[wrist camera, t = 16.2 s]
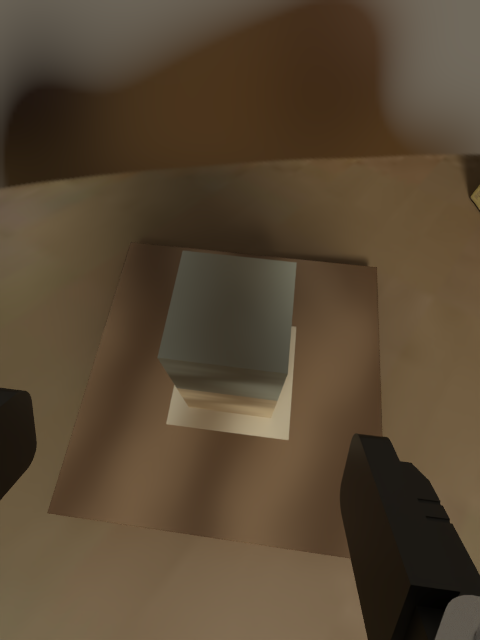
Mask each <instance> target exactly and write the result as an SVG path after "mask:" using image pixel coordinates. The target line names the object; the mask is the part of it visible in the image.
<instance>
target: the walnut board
mask: <svg viewBox="0 0 480 640" xmlns="http://www.w3.org/2000/svg"><path fill="white" fill-rule="evenodd" d="M183 251H192V252H201V253H211V254H220V255H230V256H239V257H249V258H258V259H268V260H277V261H287V262H296V276H295V289H294V302H293V314H292V327H291V340H290V352H289V365H288V375H287V377H286V380H285V382H284V385H283V388H282V390H281V393H280V396H279V398H278V401H277V404H276V406H275V409H274V412H273V414H272V417H271V418H266V417H259V416H251V415H244V414H236V413H228V412H221V411H213V410H205V409H198V408H190V407H188V405H187V404H186V402H185V401H184V399H183V397H182V396H181V394H180V393H179V391H178V390H177V388H176V386H175V385H174V383H173V382H172V380H171V378H170V377H169V375H168V374H167V372H166V370H165V369H164V367H163V366H162V364H161V363H160V361H159V359H158V358H157V357H158V353H159V349H160V345H161V340H162V336H163V332H164V328H165V323H166V319H167V315H168V311H169V307H170V302H171V298H172V294H173V290H174V285H175V281H176V277H177V273H178V268H179V264H180V260H181V256H182V252H183ZM355 433H357V434H365V435H373V436H381V437H382V411H381V380H380V350H379V319H378V289H377V267H369V266H359V265H349V264H340V263H330V262H320V261H310V260H300V259H291V258H281V257H271V256H261V255H251V254H242V253H232V252H222V251H212V250H203V249H193V248H183V247H173V246H163V245H154V244H144V243H134V242H131V243H130V247H129V250H128V253H127V256H126V259H125V263H124V266H123V269H122V272H121V276H120V279H119V282H118V285H117V289H116V292H115V295H114V298H113V302H112V305H111V308H110V311H109V315H108V318H107V321H106V324H105V328H104V331H103V334H102V337H101V341H100V344H99V347H98V350H97V354H96V357H95V360H94V363H93V367H92V370H91V373H90V376H89V380H88V383H87V386H86V389H85V393H84V396H83V399H82V402H81V406H80V409H79V412H78V415H77V419H76V422H75V425H74V428H73V432H72V435H71V438H70V441H69V445H68V448H67V451H66V454H65V458H64V461H63V464H62V467H61V471H60V474H59V477H58V480H57V484H56V487H55V490H54V493H53V497H52V500H51V503H50V506H49V509H48V513H49V514H56V515H63V516H69V517H76V518H83V519H90V520H96V521H103V522H110V523H116V524H123V525H130V526H136V527H143V528H150V529H157V530H163V531H170V532H177V533H183V534H190V535H197V536H204V537H210V538H217V539H224V540H230V541H237V542H244V543H251V544H257V545H264V546H271V547H277V548H284V549H291V550H298V551H304V552H311V553H318V554H324V555H331V556H338V557H345V558H351V557H350V553H349V548H348V543H347V538H346V534H345V529H344V524H343V520H342V515H341V509H340V487H341V481H342V477H343V473H344V468H345V464H346V460H347V456H348V452H349V447H350V443H351V439H352V437H353V435H354V434H355Z"/></svg>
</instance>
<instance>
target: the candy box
mask: <svg viewBox="0 0 480 640" xmlns="http://www.w3.org/2000/svg"><path fill="white" fill-rule="evenodd" d="M471 199H472V200H473V202H474V203H475V204H476V206H477V207H478V208H479V210H480V185H479V186H478V187H477V189H476V190H475V191H474V193H473V194H472V195H471Z"/></svg>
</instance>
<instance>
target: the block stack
mask: <svg viewBox="0 0 480 640" xmlns="http://www.w3.org/2000/svg"><path fill="white" fill-rule="evenodd" d="M295 276H296V262H287V261H277V260H268V259H258V258H249V257H239V256H230V255H220V254H211V253H201V252H192V251H183V252H182V256H181V260H180V264H179V268H178V273H177V277H176V281H175V285H174V290H173V294H172V298H171V302H170V307H169V311H168V315H167V319H166V323H165V328H164V332H163V336H162V340H161V345H160V349H159V353H158V357H157V358H158V359H159V361H160V363H161V364H162V366H163V367H164V369H165V370H166V372H167V374H168V375H169V377H170V378H171V380H172V382H173V383H174V385H175V386H176V388H177V390H178V391H179V393H180V394H181V396H182V397H183V399H184V401H185V402H186V404H187V405H188V407H190V408H198V409H205V410H213V411H221V412H228V413H236V414H244V415H251V416H259V417H266V418H271V417H272V414H273V412H274V409H275V406H276V404H277V401H278V398H279V396H280V393H281V390H282V388H283V385H284V382H285V380H286V377H287V375H288V365H289V352H290V340H291V327H292V314H293V302H294V289H295Z"/></svg>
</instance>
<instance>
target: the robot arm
mask: <svg viewBox="0 0 480 640" xmlns="http://www.w3.org/2000/svg"><path fill="white" fill-rule="evenodd" d="M36 445H37V441H36V433H35V424H34V416H33V408H32V400H31V396H30V394H29V393H28V392H27V391H22V390H14V389H6V388H0V500H1V499H2V498H3V496H4V495H5V494H6V493H7V492H8V491H9V489H10V488H11V487H12V486H13V485H14V484H15V482H16V481H17V480H18V479H19V478H20V477H21V476H22V474H23V473H24V472H25V471H26V470H27V468H28V467H29V466H30V464H31V462H32V460H33V458H34V455H35V452H36ZM340 509H341V515H342V520H343V524H344V529H345V534H346V538H347V543H348V548H349V553H350V557H351V562H352V567H353V571H354V576H355V581H356V586H357V590H358V595H359V600H360V605H361V609H362V614H363V619H364V623H365V628H366V633H367V638H368V640H480V575H479V573H478V571H477V569H476V567H475V565H474V564H473V562H472V560H471V558H470V556H469V554H468V552H467V550H466V549H465V547H464V545H463V543H462V541H461V539H460V537H459V536H458V534H457V532H456V530H455V528H454V526H453V524H450V519H449V517H448V515H447V513H446V511H445V509H444V507H443V506H441V505H440V500H439V498H438V496H437V494H436V492H435V491H434V489H433V487H432V485H431V483H430V481H429V480H428V479H427V478H426V477H425V476H424V475H423V474H422V473H421V472H420V471H419V470H418V469H417V468H416V467H415V466H414V465H413V464H412V463H409V462H401V461H400V460H399V458H398V456H397V454H396V452H395V450H394V448H393V445H392V443H391V441H390V440H389V438H387V437H381V436H373V435H365V434H357V433H355V434H354V435H353V437H352V439H351V443H350V447H349V452H348V456H347V460H346V464H345V468H344V473H343V477H342V481H341V487H340Z"/></svg>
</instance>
